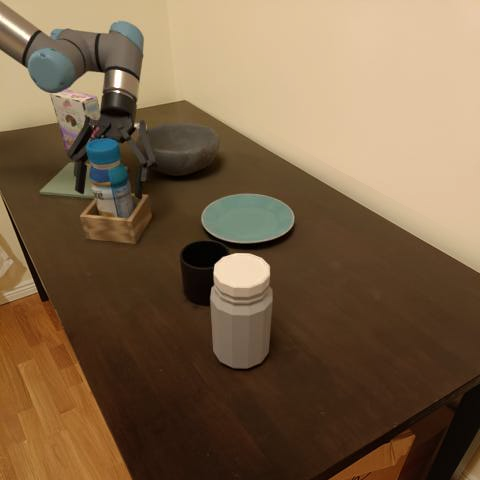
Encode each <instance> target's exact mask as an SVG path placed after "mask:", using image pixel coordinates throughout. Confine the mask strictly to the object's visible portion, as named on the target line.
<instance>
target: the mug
mask: <svg viewBox="0 0 480 480" xmlns="http://www.w3.org/2000/svg"><path fill="white" fill-rule="evenodd" d="M228 255H231V251H230V249H229V247H228V246H227V245H226V244H225V243H222V242H220V241H217V240H214V239H197V240H194V241H191V242H189V243H188V244H187V243H186V245H184V246H183V248H182V249H181V250H180V252H179V262H180V270H181V279H182V289H183V294H184V296H185V297H186V298H187V299H188V301H190V302H191V303H194V304H196V305H200V306H211V303H210V297H211V289H212V287H213V286H214V285H215V283H214V266H215V264H216V263H217V262H218V261H219V260H220V259H221V258H222V257H225V256H228Z"/></svg>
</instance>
